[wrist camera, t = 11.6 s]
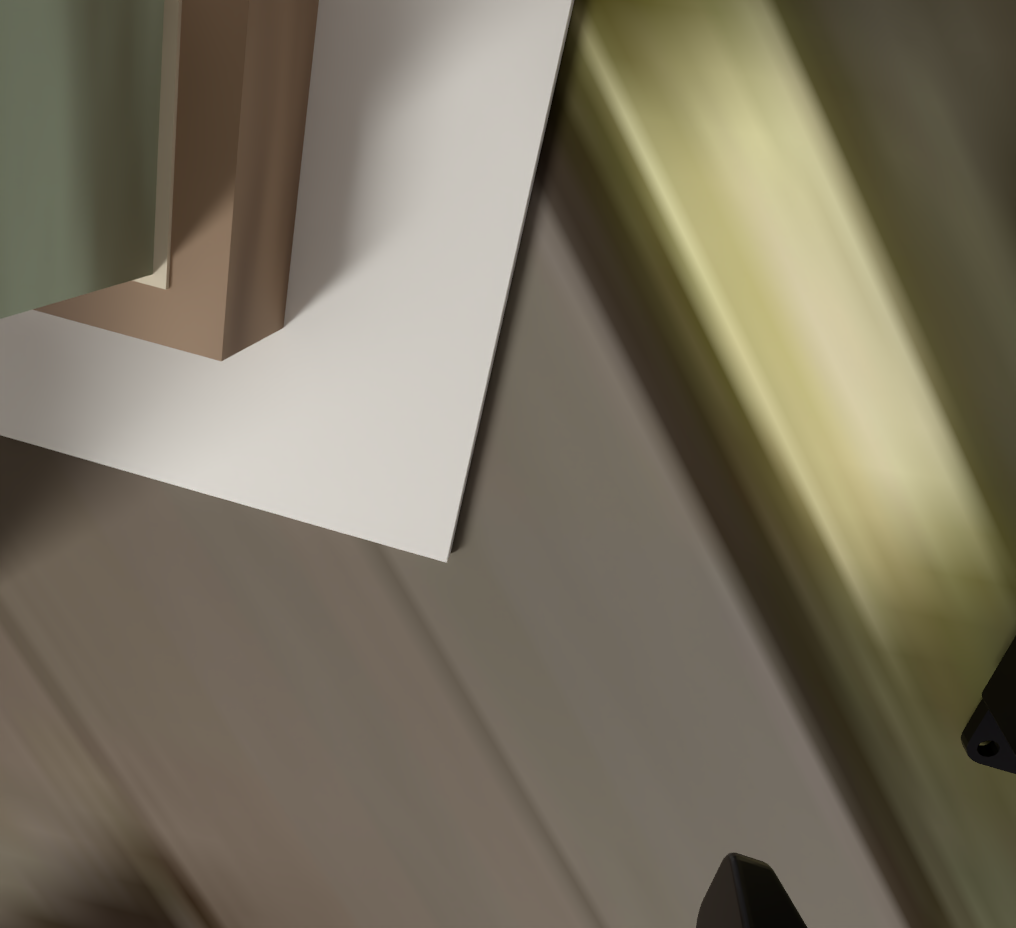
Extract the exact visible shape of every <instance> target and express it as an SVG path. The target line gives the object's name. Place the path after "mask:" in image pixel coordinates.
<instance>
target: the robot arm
mask: <svg viewBox="0 0 1016 928" xmlns="http://www.w3.org/2000/svg"><path fill="white" fill-rule="evenodd" d="M982 698H983V699H982V700H981V702H980V704H979V705H978V707H977V709H976V710H975V712H974V714H973V715H972V717H971V719H970V720H969V722H968V724H967V725H966V727H965V729H964V730H963V732H962V735H961V741H962V745H963V747H964V749H965V751H966V753H967V755H968V756H969V757H970V758H971V759H972V760H973V761H975V762H977V763H979V764H983V765H986V766H990V767H993V768H997V769H1000V770H1004V771H1007V772H1010V773H1014V774H1016V637H1015V638H1014V640H1013V642H1012V643H1011V645H1010V647H1009V648H1008V650H1007V652H1006V653H1005V655H1004V657H1003V658H1002V660H1001V662H1000V663H999V665H998V667H997V668H996V670H995V672H994V673H993V675H992V677H991V678H990V680H989V682H988V684H987V685H986V687H985V689H984V690H983V692H982ZM987 740H989V741H992V742H990V743H989V744H987V745H984V746H981V745H979V744H980V743H981V742H984V741H987ZM696 928H807V926H806V924H805V923H804V921H803V919H802V918H801V916H800V914H799V913H798V911H797V909H796V908H795V906H794V904H793V903H792V901H791V899H790V898H789V896H788V894H787V893H786V891H785V889H784V887H783V886H782V884H781V882H780V881H779V879H778V877H777V876H776V874H775V872H774V871H773V869H772V868H771V867H770V866H769V865H768V864H766V863H765V862H763V861H759V860H756V859H753V858H750V857H747V856H744V855H741V854H738V853H729V854H728V855H727V856H726V857H725V858H724V859H723V861H722V863H721V865H720V867H719V869H718V871H717V873H716V875H715V877H714V879H713V881H712V883H711V885H710V887H709V889H708V891H707V893H706V895H705V897H704V899H703V901H702V904H701V907H700V910H699V914H698V918H697V924H696Z"/></svg>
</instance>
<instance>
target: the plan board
mask: <svg viewBox="0 0 1016 928" xmlns="http://www.w3.org/2000/svg"><path fill="white" fill-rule="evenodd" d="M573 4H574V0H164V18H163V42H162V66H161V90H160V114H159V138H158V162H157V186H156V210H155V234H154V258H153V274H152V275H149V276H145V277H142V278H139V279H135V280H132V281H128V282H125V283H122V284H118V285H115V286H111V287H108V288H104V289H101V290H98V291H94V292H91V293H87V294H84V295H80V296H77V297H74V298H70V299H67V300H63V301H60V302H56V303H53V304H50V305H46V306H43V307H39V308H36V309H32V310H29V311H26V312H22V313H19V314H15V315H12V316H8V317H5V318H2V319H0V435H1V436H5V437H8V438H12V439H15V440H19V441H22V442H26V443H29V444H33V445H36V446H40V447H43V448H47V449H50V450H54V451H57V452H61V453H64V454H68V455H71V456H75V457H78V458H82V459H85V460H89V461H92V462H96V463H99V464H103V465H106V466H110V467H113V468H117V469H120V470H124V471H127V472H131V473H134V474H138V475H141V476H145V477H148V478H152V479H155V480H159V481H162V482H166V483H169V484H173V485H176V486H180V487H183V488H187V489H190V490H194V491H197V492H201V493H204V494H208V495H211V496H215V497H218V498H222V499H225V500H229V501H232V502H236V503H240V504H243V505H247V506H250V507H254V508H257V509H261V510H264V511H268V512H271V513H275V514H278V515H282V516H285V517H289V518H292V519H296V520H299V521H303V522H306V523H310V524H313V525H317V526H320V527H324V528H327V529H331V530H334V531H338V532H341V533H345V534H348V535H352V536H355V537H359V538H362V539H366V540H369V541H373V542H376V543H380V544H383V545H387V546H390V547H394V548H397V549H401V550H404V551H408V552H411V553H415V554H418V555H422V556H425V557H429V558H432V559H436V560H439V561H443V562H447V560H448V558H449V556H450V553H451V548H452V544H453V540H454V535H455V531H456V526H457V522H458V517H459V513H460V508H461V504H462V499H463V495H464V490H465V486H466V482H467V477H468V473H469V468H470V464H471V459H472V455H473V450H474V446H475V441H476V437H477V433H478V428H479V424H480V419H481V415H482V410H483V406H484V401H485V397H486V392H487V388H488V383H489V379H490V375H491V370H492V366H493V361H494V357H495V352H496V348H497V343H498V339H499V334H500V330H501V325H502V321H503V317H504V312H505V308H506V303H507V299H508V294H509V290H510V285H511V281H512V276H513V272H514V268H515V263H516V259H517V254H518V250H519V245H520V241H521V236H522V232H523V227H524V223H525V218H526V214H527V210H528V205H529V201H530V196H531V192H532V187H533V183H534V178H535V174H536V169H537V165H538V160H539V156H540V152H541V147H542V143H543V138H544V134H545V129H546V125H547V120H548V116H549V111H550V107H551V103H552V98H553V94H554V89H555V85H556V80H557V76H558V71H559V67H560V62H561V58H562V53H563V49H564V45H565V40H566V36H567V31H568V27H569V22H570V18H571V13H572V9H573Z"/></svg>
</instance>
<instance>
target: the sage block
mask: <svg viewBox="0 0 1016 928" xmlns="http://www.w3.org/2000/svg"><path fill="white" fill-rule="evenodd" d="M163 18H164V0H0V319H2V318H5V317H8V316H12V315H15V314H19V313H22V312H26V311H29V310H32V309H36V308H39V307H43V306H46V305H50V304H53V303H56V302H60V301H63V300H67V299H70V298H74V297H77V296H80V295H84V294H87V293H91V292H94V291H98V290H101V289H104V288H108V287H111V286H115V285H118V284H122V283H125V282H128V281H132V280H135V279H139V278H142V277H145V276H149V275H152V274H153V258H154V234H155V210H156V186H157V162H158V138H159V114H160V90H161V66H162V42H163Z"/></svg>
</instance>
